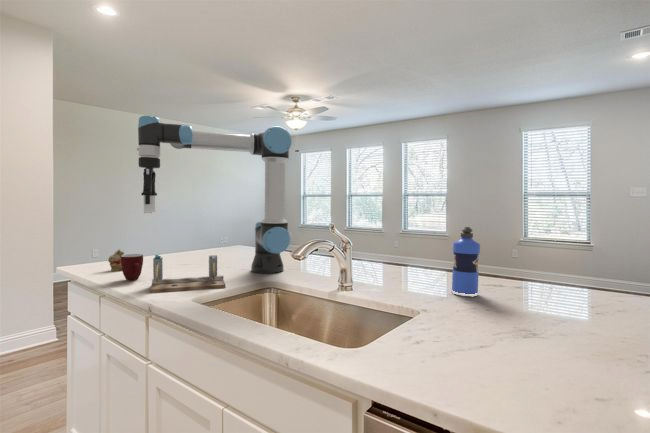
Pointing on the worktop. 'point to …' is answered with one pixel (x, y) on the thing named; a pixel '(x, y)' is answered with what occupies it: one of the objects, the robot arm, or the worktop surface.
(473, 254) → the water bottle
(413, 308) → the worktop surface
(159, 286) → the brown wooden board
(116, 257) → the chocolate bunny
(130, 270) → the mug
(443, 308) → the worktop surface
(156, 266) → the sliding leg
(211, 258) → the fixed leg
